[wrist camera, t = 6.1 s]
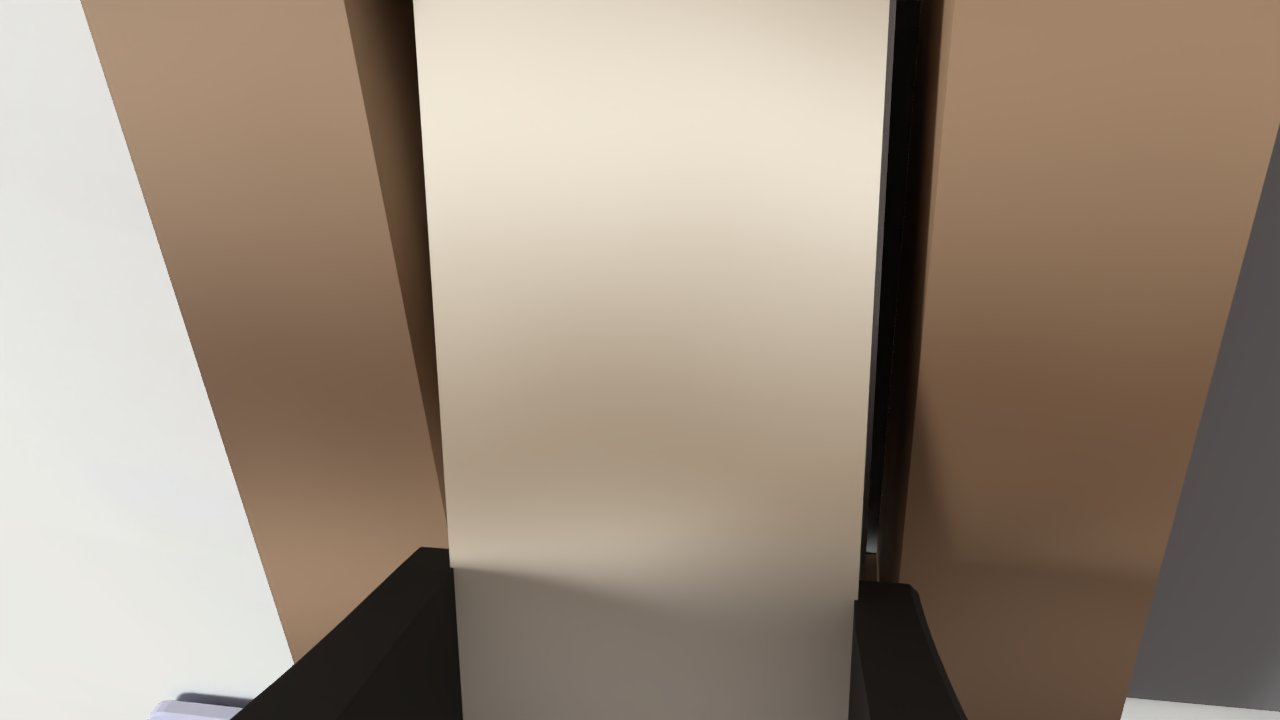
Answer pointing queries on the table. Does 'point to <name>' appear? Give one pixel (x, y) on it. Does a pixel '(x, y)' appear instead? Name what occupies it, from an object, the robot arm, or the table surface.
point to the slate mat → (1228, 510)
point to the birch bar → (653, 347)
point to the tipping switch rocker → (877, 281)
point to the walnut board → (924, 323)
